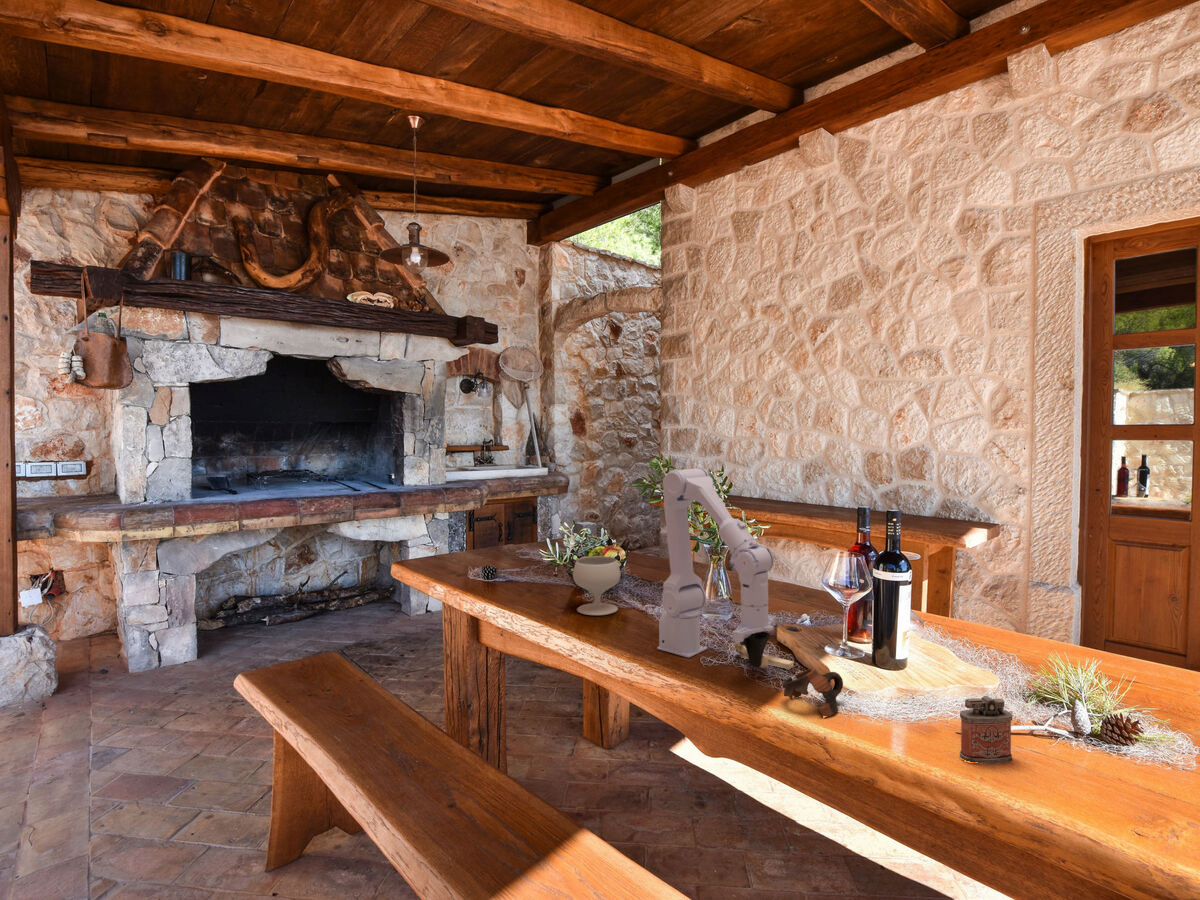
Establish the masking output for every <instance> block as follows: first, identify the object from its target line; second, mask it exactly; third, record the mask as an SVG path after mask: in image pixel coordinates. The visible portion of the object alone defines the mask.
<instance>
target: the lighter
mask: <svg viewBox="0 0 1200 900" xmlns="http://www.w3.org/2000/svg"><path fill="white" fill-rule="evenodd" d="M964 707H966V708H967V709H964V710H960V711H959V717H960V719H961V720H960V722H961V723H960V732H961V733H960V734H961V735H960V737H961V738H960V743H961V744H960V751H959V758H960V757H961V758H962V759H964V760H966V761H970V762H978V763H983V764H982V765H1001V764H1006V763H1007V764H1008V763H1012V761H1013V754H1012V751H1011V750H1012V748H1011V747H1012V746H1011V745H1012V721H1013V713H1012V712H1010V711H1008V710H1005V709H1004V708H1005V700H1004V699H1003V698H999V697H998V698H991V697H990V696H988V695H983V696H982V697H981V698H979V697H978V698H977V697H976V698H975V697H974V698H972V697H971V698H966V699H965V700H964ZM984 763H985V764H984Z"/></svg>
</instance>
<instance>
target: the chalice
mask: <svg viewBox="0 0 1200 900" xmlns="http://www.w3.org/2000/svg"><path fill="white" fill-rule="evenodd" d="M572 570H573V571H572V579H573V581H574V582H575V584H576V585H577V586H579V587H580V588H582V589H583V590H586V591H588V592H589V593H590V594H591V595H592V596H593V601H592V603H586V604H585V603H584V604H582V605H580V606H579V607H577V608H576V611H577V612H578V613H579V614H583V615H585V616H587V615H588V616H607V615H610V614H614V613H616V612H617V611H619V608H618V606H616V605H614V604H612V603H608V602H607V603H605V602H601V597H602V595H603V593H605V592H606V591H608V590H609V589H611V588H613V587H614V586H615V585H617V584H618V582H619V581H620V579H621V567H620V565H619V562H618V560H617V559H616V558H615V557H613V556H612V557H611V556H603V555H595V556H592V555H590V556H584V557H581V558H580V557H579V558H578V559H577V560H576V561H575V564H574V567H573V569H572Z"/></svg>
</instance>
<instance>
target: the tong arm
mask: <svg viewBox="0 0 1200 900" xmlns="http://www.w3.org/2000/svg"><path fill="white" fill-rule="evenodd" d="M734 649H735V650H736V649H737V650H738V651H739V652H742V653H743V654H744V655H745V656H746V657H747V658H748V653H747V650H746V647H745V645H744V646H742V645H741V644H740V642H739V641H734ZM748 659H749V658H748ZM759 668H769V666H768V660H767V659H766V658H765V657H764V656H762V663H761V666H760V667H759Z"/></svg>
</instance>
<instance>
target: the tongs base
mask: <svg viewBox="0 0 1200 900" xmlns="http://www.w3.org/2000/svg"><path fill="white" fill-rule="evenodd" d="M739 643H740V644H741V645H742V646H744V643H743V642H739ZM735 651H736V652H737V653H738V654H739V658H740V657H741V658H747V657H746V656H745V655H744V654H743V653H742V652H739V651H738V650H737V649H736V648H735ZM763 656H764V657H765V658H766V659H767V660H768V664H770V665H773V666H777V667H781V668H785V669H788V670H789V669H790V668H791V667H793V666H794V664H795V663H794V661H793V660H788V659H784V658H780V657H776V656H773V655H770V654H766V653H763ZM741 658H740V659H741ZM747 659H748V658H747ZM789 671H790V670H789Z"/></svg>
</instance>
